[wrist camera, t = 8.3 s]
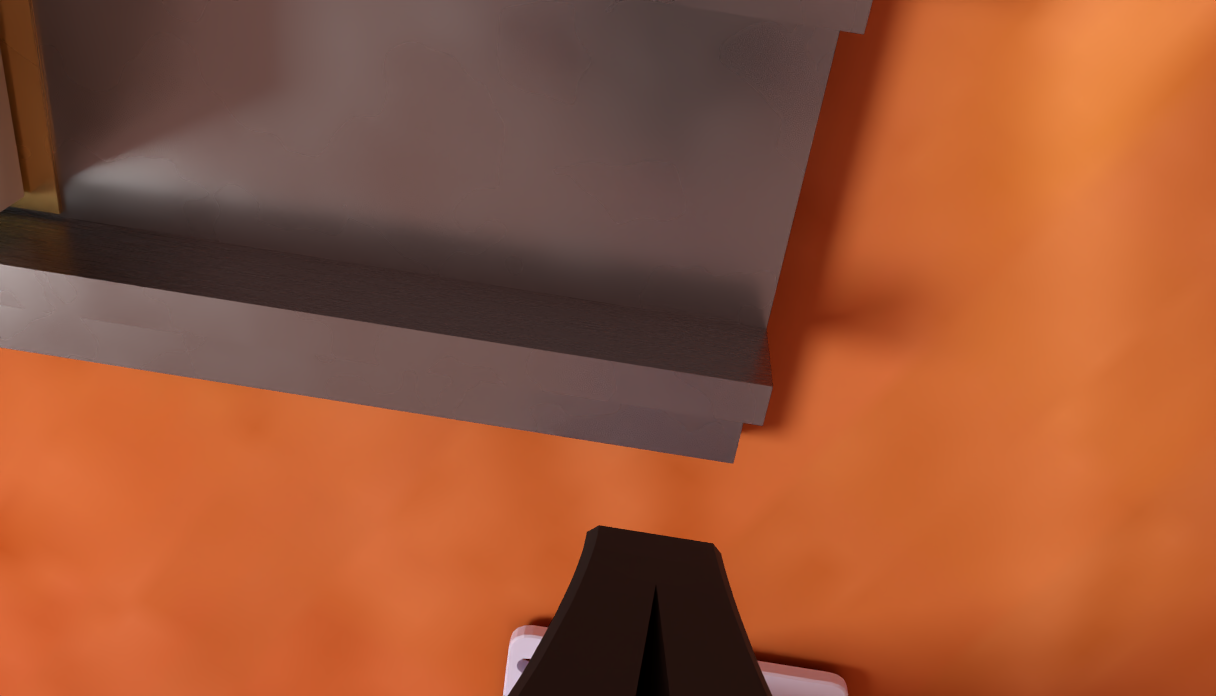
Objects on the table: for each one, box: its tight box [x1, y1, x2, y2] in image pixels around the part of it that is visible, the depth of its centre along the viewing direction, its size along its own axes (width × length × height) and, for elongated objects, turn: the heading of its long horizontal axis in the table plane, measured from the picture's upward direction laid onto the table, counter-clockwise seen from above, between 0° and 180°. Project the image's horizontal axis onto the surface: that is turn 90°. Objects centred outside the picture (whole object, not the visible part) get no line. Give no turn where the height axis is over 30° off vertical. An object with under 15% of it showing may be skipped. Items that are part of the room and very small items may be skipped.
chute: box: [0, 0, 873, 463], centre depth 17 cm, size 12×20×3 cm, turn 82°
